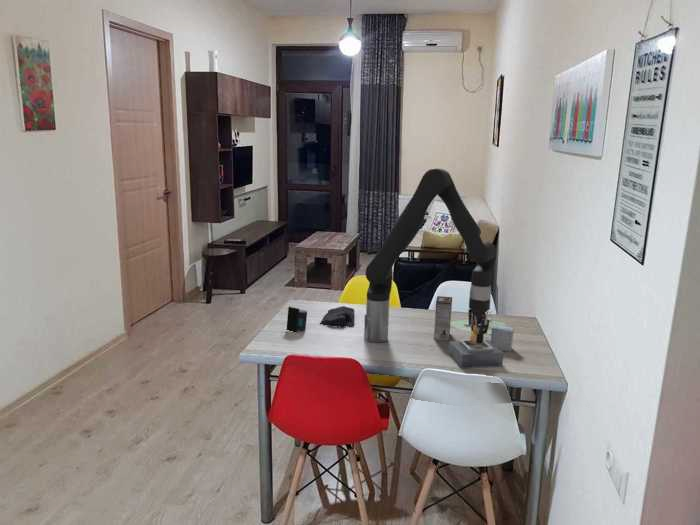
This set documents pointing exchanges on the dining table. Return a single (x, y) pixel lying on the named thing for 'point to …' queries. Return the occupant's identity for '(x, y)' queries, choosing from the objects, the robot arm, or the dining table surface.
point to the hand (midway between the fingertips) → (476, 340)
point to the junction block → (475, 354)
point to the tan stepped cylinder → (474, 336)
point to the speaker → (296, 319)
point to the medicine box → (502, 337)
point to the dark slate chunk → (339, 317)
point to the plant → (465, 324)
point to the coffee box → (442, 318)
